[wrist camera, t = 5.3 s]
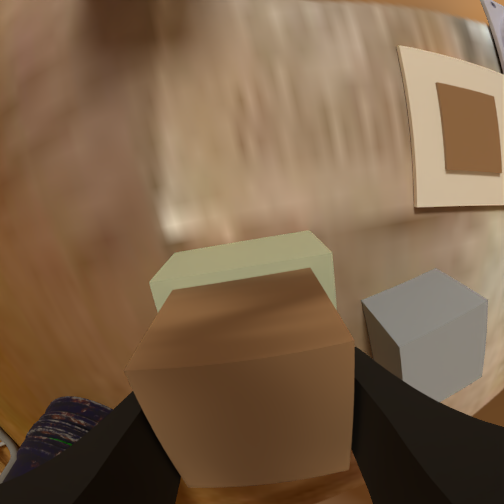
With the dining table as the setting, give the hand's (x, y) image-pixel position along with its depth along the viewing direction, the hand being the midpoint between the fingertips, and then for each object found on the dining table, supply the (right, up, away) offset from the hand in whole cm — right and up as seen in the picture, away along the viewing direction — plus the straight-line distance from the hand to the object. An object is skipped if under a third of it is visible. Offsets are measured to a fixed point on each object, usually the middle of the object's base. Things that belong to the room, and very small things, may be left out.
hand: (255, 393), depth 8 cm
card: (+11, +10, +4) cm, 16 cm away
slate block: (+8, 0, +7) cm, 10 cm away
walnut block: (0, +1, +2) cm, 3 cm away
